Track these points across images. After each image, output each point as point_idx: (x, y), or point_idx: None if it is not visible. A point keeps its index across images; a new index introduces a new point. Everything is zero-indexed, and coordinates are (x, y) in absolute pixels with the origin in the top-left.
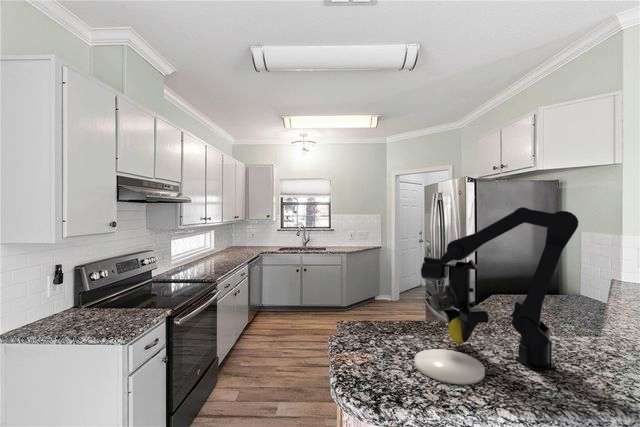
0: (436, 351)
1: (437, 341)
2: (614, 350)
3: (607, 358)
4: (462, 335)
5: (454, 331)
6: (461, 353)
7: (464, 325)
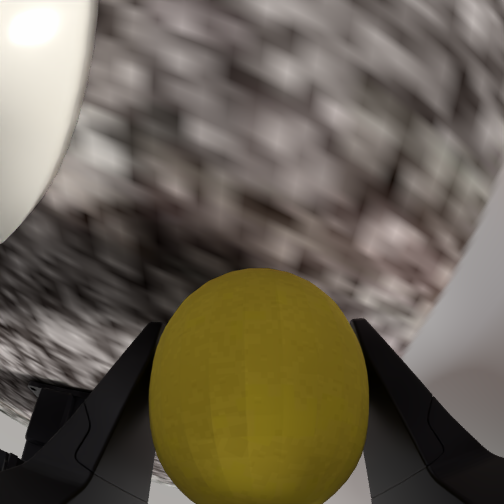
0: (29, 5)
1: (391, 160)
2: None
3: (161, 477)
4: (134, 362)
5: (182, 352)
6: (18, 211)
7: (35, 461)
